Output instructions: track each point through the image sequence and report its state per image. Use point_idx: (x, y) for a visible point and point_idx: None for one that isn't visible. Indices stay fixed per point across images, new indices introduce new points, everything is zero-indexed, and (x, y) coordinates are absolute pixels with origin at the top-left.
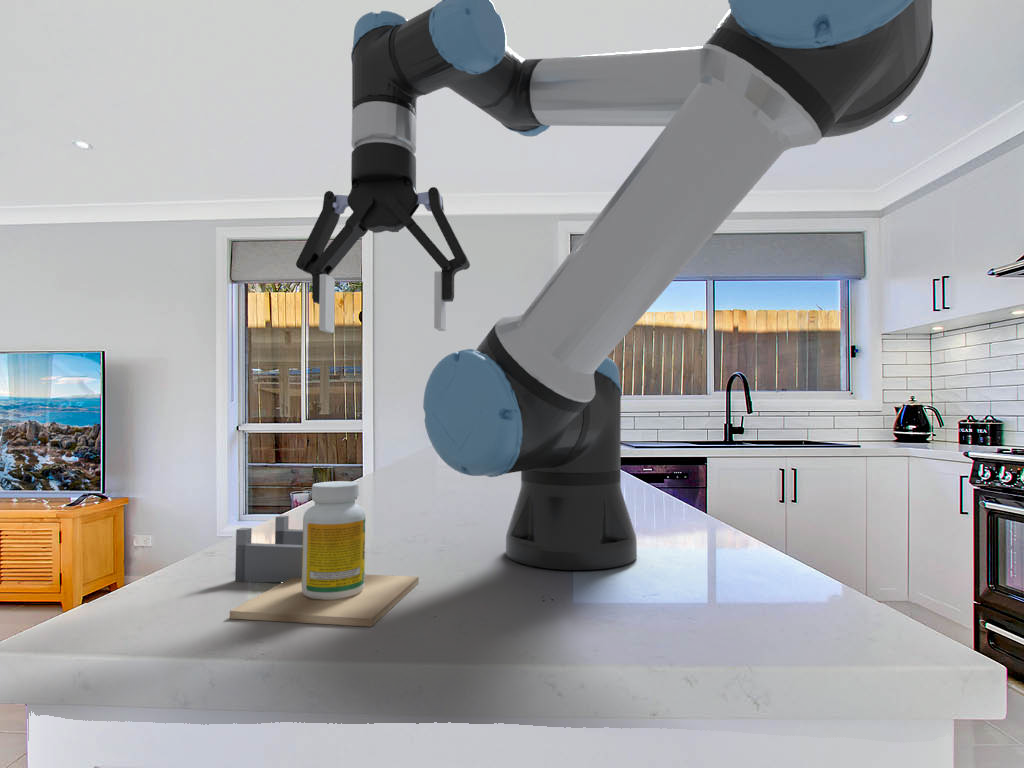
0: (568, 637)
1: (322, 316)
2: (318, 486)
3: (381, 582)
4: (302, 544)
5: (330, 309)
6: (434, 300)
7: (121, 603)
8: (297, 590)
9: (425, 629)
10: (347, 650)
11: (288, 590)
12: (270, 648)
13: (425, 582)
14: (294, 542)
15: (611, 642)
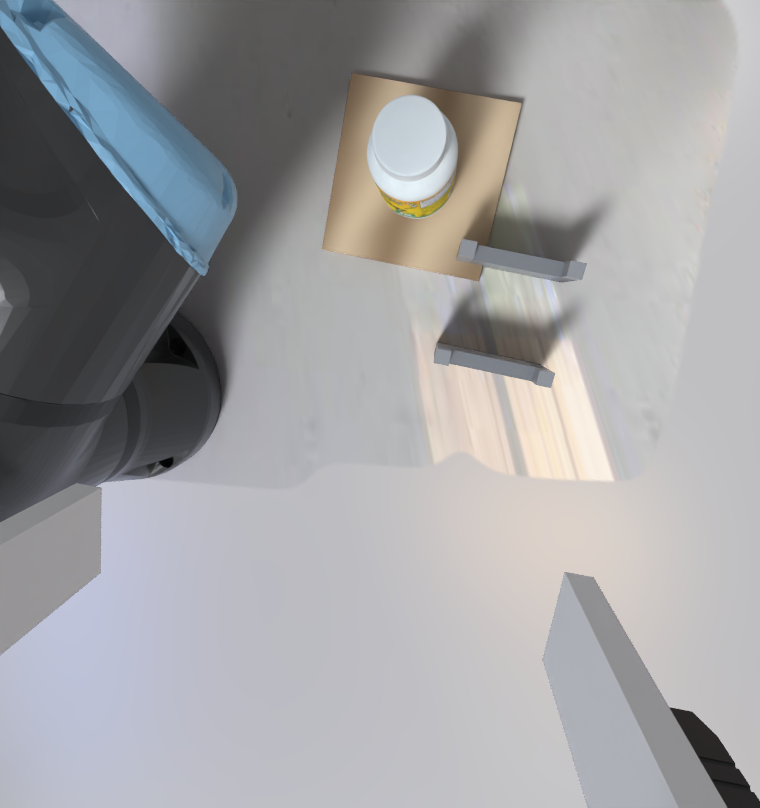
0: (151, 44)
1: (597, 610)
2: (430, 102)
3: (364, 222)
4: (501, 358)
5: (581, 698)
6: (4, 542)
7: (679, 171)
8: (463, 189)
9: (294, 69)
10: (364, 3)
11: (474, 189)
12: (444, 8)
13: (315, 254)
14: (514, 361)
15: (111, 29)
